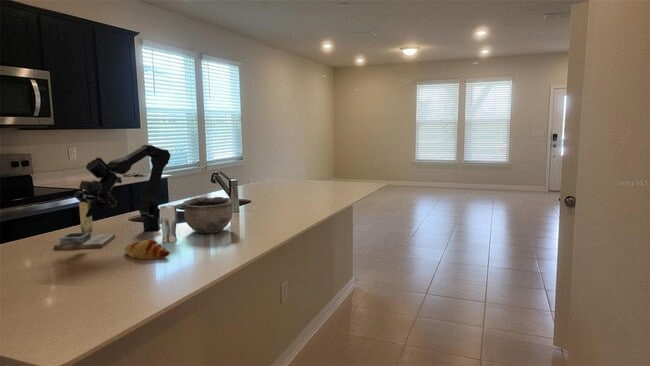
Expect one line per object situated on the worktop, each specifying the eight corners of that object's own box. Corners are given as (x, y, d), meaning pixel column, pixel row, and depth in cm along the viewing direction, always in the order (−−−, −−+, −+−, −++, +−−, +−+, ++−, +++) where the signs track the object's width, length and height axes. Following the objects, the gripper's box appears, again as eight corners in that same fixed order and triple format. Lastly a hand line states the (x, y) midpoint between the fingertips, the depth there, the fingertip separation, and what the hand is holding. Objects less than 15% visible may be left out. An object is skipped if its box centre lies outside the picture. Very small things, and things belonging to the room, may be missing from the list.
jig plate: (115, 237, 184) (114, 228, 184) (102, 247, 168) (101, 237, 168) (71, 238, 181) (70, 229, 181) (53, 249, 165) (53, 239, 165)
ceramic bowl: (239, 227, 204) (238, 197, 202) (224, 238, 183) (223, 205, 181) (195, 225, 206) (194, 196, 204) (175, 237, 185) (174, 204, 183)
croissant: (120, 263, 159) (110, 248, 155) (137, 245, 167) (128, 230, 163) (164, 269, 152) (156, 253, 148) (180, 250, 160) (172, 234, 155)
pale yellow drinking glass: (95, 230, 168) (92, 201, 166) (89, 233, 164) (86, 203, 163) (85, 230, 168) (83, 201, 167) (79, 233, 164) (76, 203, 163)
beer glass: (180, 239, 182) (179, 205, 180) (173, 243, 175) (172, 208, 173) (165, 238, 182) (164, 205, 180) (157, 243, 175) (156, 208, 173)
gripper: (75, 172, 170) (51, 203, 162) (108, 174, 163) (84, 206, 154) (94, 188, 179) (72, 218, 170) (126, 191, 171) (104, 222, 163)
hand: (82, 216), depth 164 cm, fingers closed on pale yellow drinking glass, 4 cm apart
